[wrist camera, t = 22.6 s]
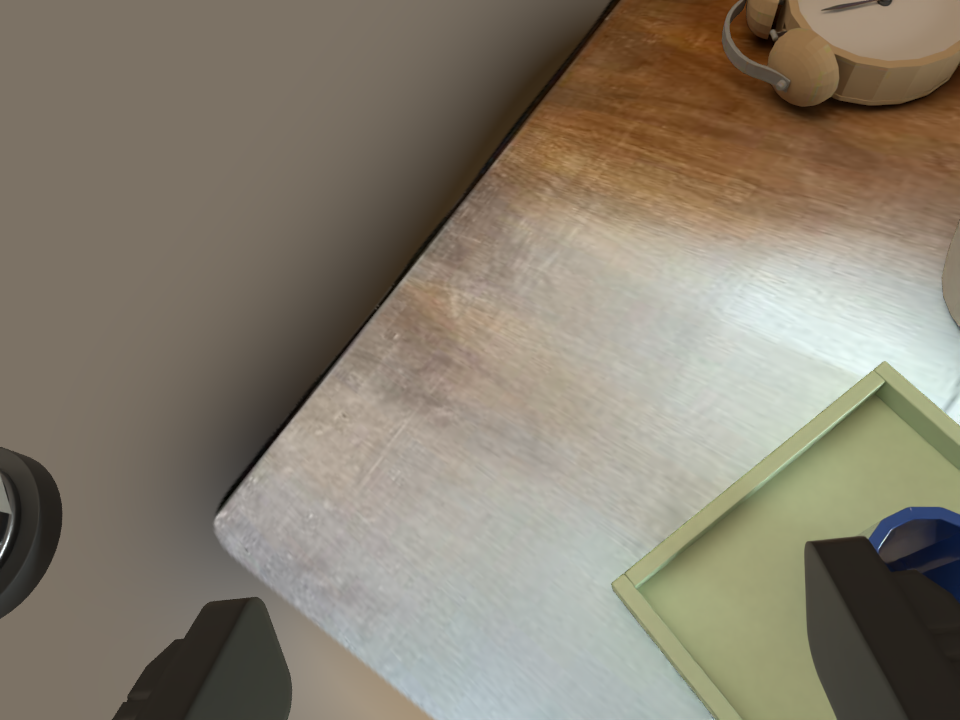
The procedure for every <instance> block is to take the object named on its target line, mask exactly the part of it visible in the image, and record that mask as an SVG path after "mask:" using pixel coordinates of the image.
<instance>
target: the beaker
mask: <svg viewBox="0 0 960 720" xmlns="http://www.w3.org/2000/svg"><path fill="white" fill-rule="evenodd" d="M856 536H865V537H866V538H867V539H869V541H870V542H871V544H872V545H873V547H874V548H875V550H876V551H877V553H878V554H879V556H880V557H881V559H882V560H883V562H884V563H885V565H886V566H887V568H888V569H889V571H890V572H895V571H905V570H915V569H916V570H917V571H919V572H920V573H922V574H923V575H925V576H926V577H927V578H929V579H930V580H932V581H933V582H935V583H936V584H938V585H939V586H941V587H942V588H944V589H945V590H947V591H948V592H950V593H951V594H952V595H953V596H954V597H955V599H956V600H957V601H958V603H959V604H960V514H958V513H955V512H953V511H950V510H948V509H945V508H943V507H907V508H905V509H903V510H900V511H898V512H896V513H894V514H892V515H890V516H888V517H886V518H884V519H882V520H880V521H879V522H877V523H876V524H874V525H872V526H871V527H869V528H868V529H866V530H864V531H863V532H861V533H860V534H858V535H856Z"/></svg>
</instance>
